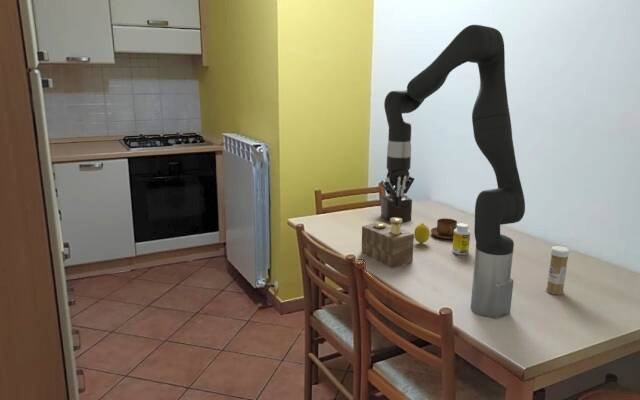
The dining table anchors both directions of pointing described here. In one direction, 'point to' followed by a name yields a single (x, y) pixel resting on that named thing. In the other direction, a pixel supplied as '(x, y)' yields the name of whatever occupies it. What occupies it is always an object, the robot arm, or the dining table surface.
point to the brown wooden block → (387, 245)
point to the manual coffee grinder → (393, 212)
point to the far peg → (379, 225)
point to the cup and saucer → (444, 228)
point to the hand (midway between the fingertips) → (396, 207)
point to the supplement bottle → (461, 239)
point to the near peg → (395, 225)
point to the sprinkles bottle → (557, 270)
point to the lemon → (421, 233)
